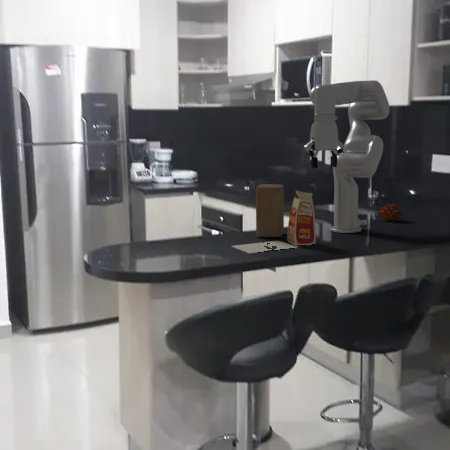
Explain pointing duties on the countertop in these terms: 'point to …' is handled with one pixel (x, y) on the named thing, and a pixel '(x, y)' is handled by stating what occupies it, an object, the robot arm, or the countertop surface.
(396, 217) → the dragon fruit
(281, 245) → the mat
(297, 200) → the milk carton
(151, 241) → the countertop surface
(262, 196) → the wooden block
